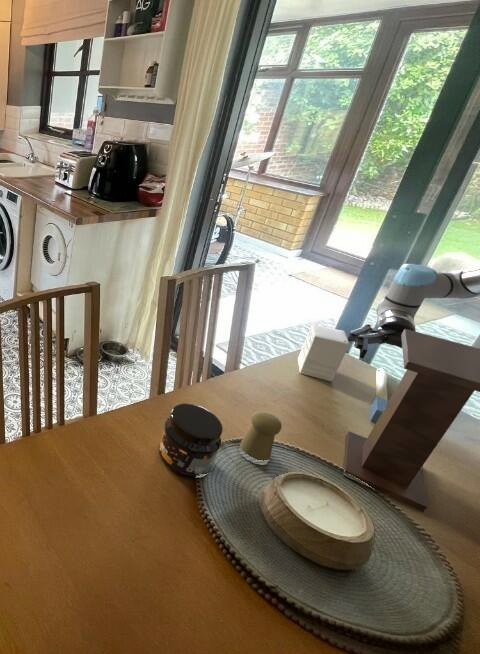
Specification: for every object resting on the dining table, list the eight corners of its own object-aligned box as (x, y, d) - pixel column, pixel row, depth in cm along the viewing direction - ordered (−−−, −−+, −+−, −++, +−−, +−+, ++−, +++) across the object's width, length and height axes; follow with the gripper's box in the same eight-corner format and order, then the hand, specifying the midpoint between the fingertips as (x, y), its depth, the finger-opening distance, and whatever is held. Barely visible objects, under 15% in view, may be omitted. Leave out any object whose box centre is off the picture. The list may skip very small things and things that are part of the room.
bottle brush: (388, 376, 113) (394, 365, 112) (390, 428, 97) (397, 417, 95) (371, 370, 115) (376, 360, 114) (370, 420, 99) (376, 409, 97)
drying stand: (418, 465, 88) (495, 352, 75) (423, 512, 78) (512, 393, 65) (345, 435, 95) (404, 328, 82) (342, 475, 86) (408, 361, 73)
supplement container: (153, 437, 95) (163, 398, 90) (202, 444, 93) (216, 404, 88) (163, 476, 86) (175, 435, 80) (217, 485, 84) (234, 444, 78)
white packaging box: (328, 367, 117) (345, 330, 111) (332, 382, 111) (350, 344, 106) (296, 359, 120) (311, 323, 115) (298, 373, 115) (314, 335, 109)
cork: (240, 460, 89) (255, 423, 84) (234, 439, 94) (248, 403, 89) (273, 468, 87) (290, 431, 82) (265, 447, 92) (281, 410, 87)
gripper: (452, 357, 110) (463, 399, 96) (335, 324, 125) (329, 356, 111) (466, 333, 107) (480, 374, 93) (344, 302, 122) (340, 333, 107)
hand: (398, 364), depth 102 cm, fingers open, 12 cm apart
